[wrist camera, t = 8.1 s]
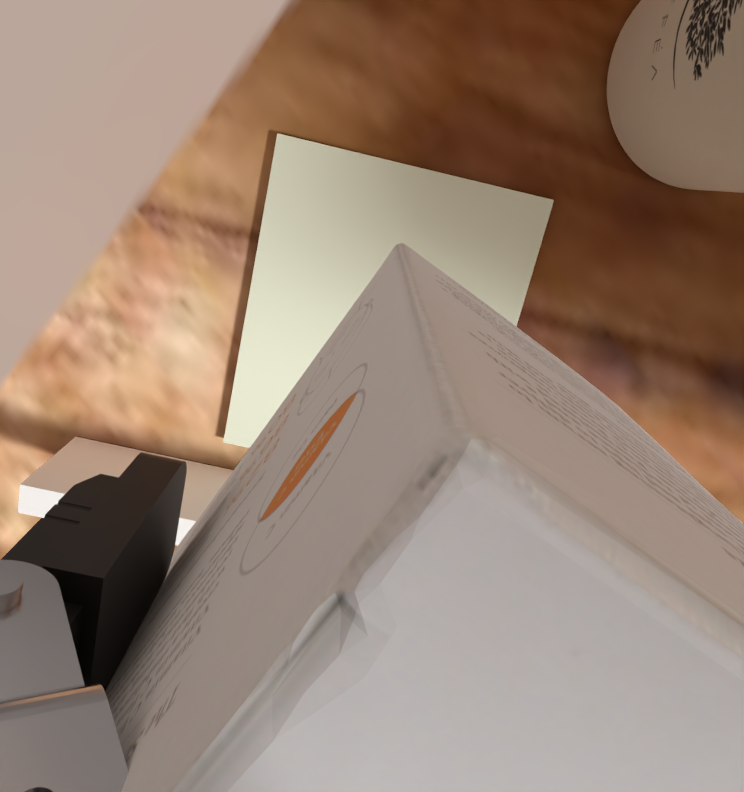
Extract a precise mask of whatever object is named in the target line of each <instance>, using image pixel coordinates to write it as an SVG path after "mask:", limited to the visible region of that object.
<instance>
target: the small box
mask: <svg viewBox="0 0 744 792" xmlns="http://www.w3.org/2000/svg"><path fill="white" fill-rule="evenodd" d="M105 693H106V696H107V699H108V702H109V706H110V709H111V713H112V716H113V720H114V723H115V727H116V730H117V734H118V737H119V741H120V744H121V748H122V751H123V755H124V758H125V762H126V765H127V769H128V775H127V778H126V780H125V783H124V786H123V789H122V791H121V792H744V524H743V523H742V522H741V521H740V520H739V519H738V518H737V517H735V516H734V515H733V514H732V513H731V512H730V511H729V510H728V509H726V508H725V507H724V506H723V505H722V504H721V503H720V502H719V501H718V500H717V499H715V498H714V497H713V496H712V495H711V494H710V493H709V492H708V491H707V490H706V489H705V488H704V487H703V486H702V485H701V484H700V483H699V482H698V481H697V480H696V479H695V478H693V477H692V476H691V475H690V474H689V473H688V472H687V471H686V470H685V469H684V468H683V467H682V466H681V465H680V464H679V463H678V462H677V461H676V460H675V459H674V458H673V457H672V456H671V455H670V454H669V453H668V452H667V451H666V450H665V449H664V448H663V447H662V446H661V445H660V444H659V443H658V442H656V441H655V440H654V439H653V438H652V437H651V436H650V435H649V434H648V433H647V432H646V431H645V430H644V429H643V428H641V427H640V426H639V425H638V424H637V423H636V422H635V421H634V420H633V419H632V418H631V417H630V416H628V415H627V414H626V413H625V412H624V411H623V410H622V409H621V408H620V407H619V406H618V405H617V404H615V403H614V402H613V401H612V400H610V399H609V398H608V397H607V396H606V395H604V394H603V393H602V392H601V391H599V390H598V389H597V388H596V387H594V386H593V385H592V384H591V383H589V382H588V381H587V380H586V379H584V378H583V377H582V376H581V375H579V374H578V373H577V372H575V371H574V370H573V369H572V368H570V367H569V366H568V365H566V364H565V363H564V362H562V361H561V360H560V359H558V358H557V357H556V356H555V355H553V354H552V353H551V352H549V351H548V350H547V349H545V348H544V347H543V346H541V345H540V344H539V343H537V342H536V341H535V340H533V339H532V338H531V337H529V336H528V335H527V334H525V333H524V332H523V331H521V330H520V329H519V328H517V327H516V326H515V325H513V324H512V323H511V322H510V321H508V320H507V319H506V318H504V317H503V316H502V315H500V314H499V313H498V312H496V311H495V310H494V309H492V308H491V307H489V306H488V305H487V304H485V303H484V302H483V301H481V300H480V299H479V298H477V297H476V296H475V295H473V294H472V293H471V292H469V291H468V290H467V289H465V288H464V287H463V286H461V285H460V284H459V283H457V282H456V281H454V280H453V279H452V278H450V277H449V276H448V275H446V274H445V273H444V272H442V271H441V270H439V269H438V268H437V267H435V266H434V265H433V264H431V263H430V262H428V261H427V260H426V259H424V258H423V257H422V256H420V255H419V254H418V253H416V252H415V251H414V250H412V249H411V248H410V247H408V246H407V245H405V244H403V243H400V244H397V245H396V246H395V247H394V248H393V249H392V251H391V252H390V254H389V255H388V257H387V258H386V260H385V261H384V263H383V264H382V266H381V267H380V268H379V270H378V271H377V273H376V274H375V275H374V277H373V278H372V279H371V281H370V282H369V284H368V285H367V286H366V288H365V289H364V291H363V292H362V293H361V295H360V296H359V297H358V299H357V300H356V301H355V303H354V304H353V306H352V307H351V308H350V310H349V311H348V312H347V314H346V315H345V317H344V318H343V319H342V321H341V322H340V324H339V325H338V326H337V328H336V329H335V331H334V332H333V333H332V335H331V336H330V337H329V339H328V340H327V342H326V343H325V344H324V346H323V347H322V348H321V350H320V351H319V353H318V354H317V355H316V357H315V358H314V360H313V361H312V362H311V364H310V365H309V366H308V368H307V369H306V371H305V372H304V373H303V375H302V376H301V378H300V379H299V380H298V382H297V383H296V384H295V386H294V387H293V389H292V390H291V391H290V393H289V394H288V396H287V397H286V398H285V400H284V401H283V402H282V404H281V405H280V407H279V408H278V409H277V411H276V412H275V414H274V415H273V416H272V418H271V419H270V420H269V422H268V423H267V425H266V426H265V427H264V429H263V430H262V432H261V433H260V434H259V436H258V437H257V439H256V440H255V441H254V443H253V444H252V445H251V447H250V448H249V450H248V451H247V452H246V454H245V455H244V457H243V458H242V459H241V461H240V462H239V464H238V465H237V466H236V468H235V469H234V470H233V472H232V473H231V475H230V476H229V477H228V479H227V480H226V481H225V483H224V484H223V486H222V487H221V488H220V490H219V491H218V492H217V494H216V495H215V496H214V498H213V499H212V501H211V502H210V503H209V505H208V506H207V507H206V509H205V510H204V511H203V513H202V514H201V516H200V517H199V518H198V520H197V521H196V522H195V524H194V525H193V526H192V528H191V529H190V530H189V531H188V533H187V534H186V535H185V537H184V538H183V539H182V541H181V542H180V544H179V545H178V547H177V548H176V550H175V552H174V554H173V556H172V560H171V564H170V567H169V570H168V573H167V575H166V578H165V580H164V582H163V584H162V586H161V588H160V590H159V592H158V594H157V596H156V597H155V599H154V601H153V603H152V605H151V607H150V609H149V610H148V612H147V614H146V616H145V618H144V620H143V622H142V623H141V625H140V627H139V629H138V631H137V633H136V635H135V636H134V638H133V640H132V642H131V644H130V646H129V648H128V649H127V651H126V653H125V655H124V657H123V659H122V661H121V662H120V664H119V666H118V668H117V670H116V672H115V673H114V675H113V677H112V679H111V681H110V683H109V685H108V686H107V688H106V690H105Z"/></svg>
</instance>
